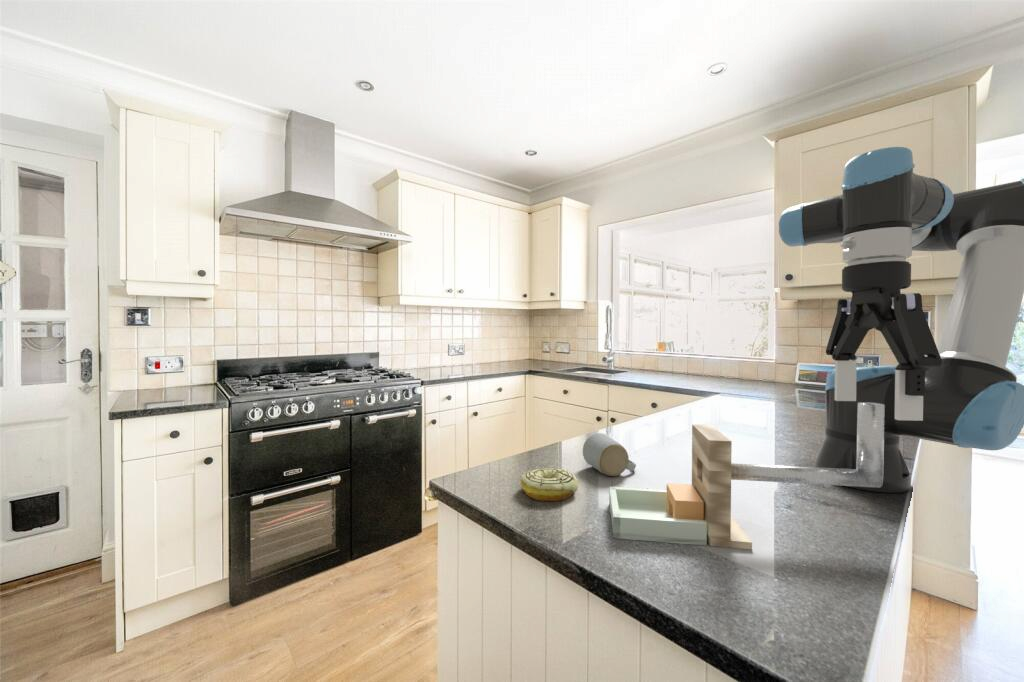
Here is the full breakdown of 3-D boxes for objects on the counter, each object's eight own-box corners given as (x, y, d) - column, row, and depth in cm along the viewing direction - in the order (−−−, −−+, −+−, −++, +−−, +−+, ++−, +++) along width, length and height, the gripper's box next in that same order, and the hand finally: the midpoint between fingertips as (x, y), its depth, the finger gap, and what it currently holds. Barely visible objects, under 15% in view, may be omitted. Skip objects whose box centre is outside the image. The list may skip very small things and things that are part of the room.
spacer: (691, 511, 69) (692, 484, 69) (703, 531, 62) (703, 502, 62) (666, 509, 70) (666, 483, 70) (675, 529, 63) (675, 500, 63)
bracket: (724, 512, 70) (725, 424, 70) (751, 549, 59) (753, 443, 58) (690, 509, 71) (690, 423, 71) (710, 546, 60) (711, 442, 59)
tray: (687, 509, 72) (687, 491, 71) (706, 545, 60) (706, 523, 60) (609, 504, 74) (609, 486, 74) (613, 538, 62) (613, 516, 62)
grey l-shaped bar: (874, 483, 62) (875, 402, 62) (888, 491, 59) (890, 406, 59) (712, 474, 66) (713, 398, 66) (718, 481, 63) (719, 402, 63)
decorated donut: (588, 498, 77) (588, 478, 77) (536, 508, 73) (536, 487, 73) (560, 479, 87) (560, 461, 87) (512, 487, 82) (512, 468, 82)
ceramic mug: (600, 480, 86) (601, 443, 85) (581, 467, 93) (582, 433, 93) (644, 475, 89) (645, 439, 89) (622, 463, 97) (623, 430, 97)
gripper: (802, 274, 73) (802, 394, 74) (911, 249, 49) (908, 430, 49) (851, 272, 72) (849, 394, 72) (987, 245, 47) (983, 431, 48)
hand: (873, 409), depth 61 cm, fingers open, 13 cm apart
